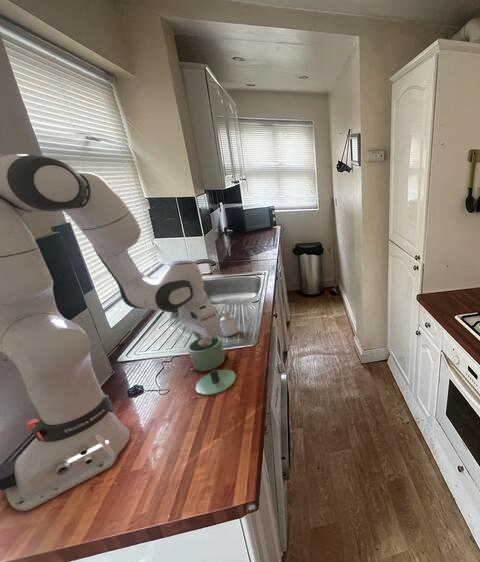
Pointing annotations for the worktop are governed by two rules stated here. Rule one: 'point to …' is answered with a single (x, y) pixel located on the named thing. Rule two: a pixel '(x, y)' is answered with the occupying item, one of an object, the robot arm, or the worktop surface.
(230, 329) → the eye dropper bottle
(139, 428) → the worktop surface
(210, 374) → the lid
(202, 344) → the pale grey pebble
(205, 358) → the pot
